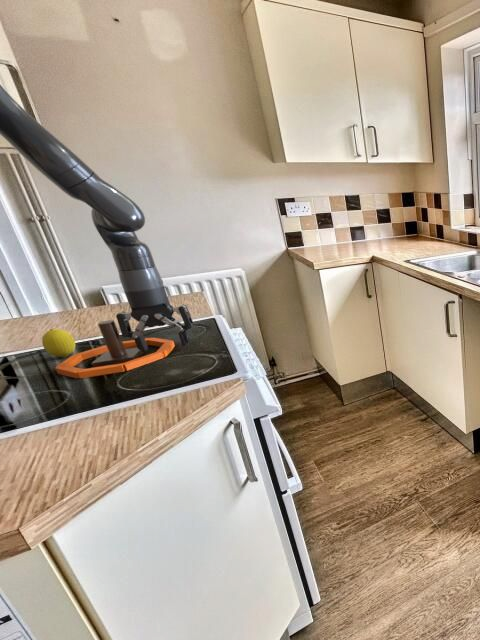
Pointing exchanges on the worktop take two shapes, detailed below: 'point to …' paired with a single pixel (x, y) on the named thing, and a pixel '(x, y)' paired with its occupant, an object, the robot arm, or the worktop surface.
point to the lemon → (58, 343)
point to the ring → (71, 371)
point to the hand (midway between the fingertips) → (165, 347)
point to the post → (114, 347)
